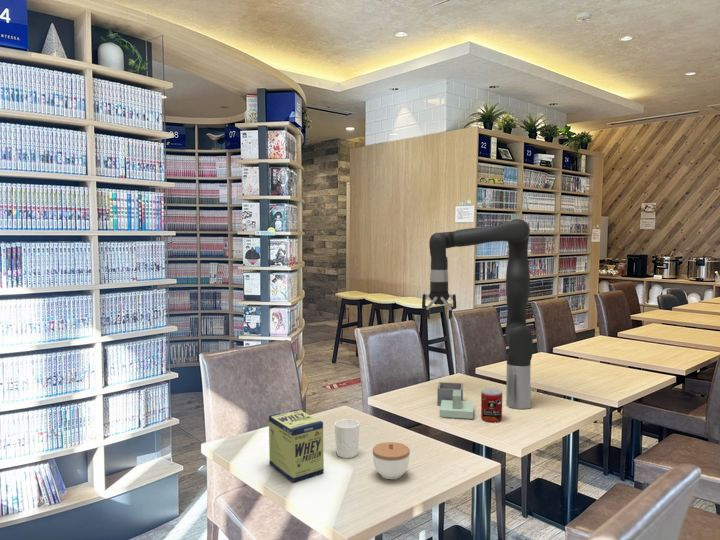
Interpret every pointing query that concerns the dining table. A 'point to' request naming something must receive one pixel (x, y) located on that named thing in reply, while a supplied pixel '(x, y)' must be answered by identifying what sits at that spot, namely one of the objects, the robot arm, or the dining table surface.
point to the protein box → (296, 445)
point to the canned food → (491, 405)
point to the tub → (448, 391)
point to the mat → (457, 418)
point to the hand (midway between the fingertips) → (439, 318)
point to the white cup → (347, 437)
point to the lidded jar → (391, 459)
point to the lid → (456, 407)
